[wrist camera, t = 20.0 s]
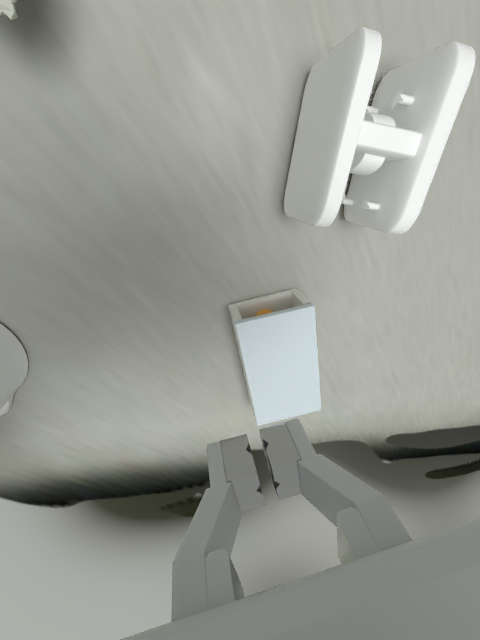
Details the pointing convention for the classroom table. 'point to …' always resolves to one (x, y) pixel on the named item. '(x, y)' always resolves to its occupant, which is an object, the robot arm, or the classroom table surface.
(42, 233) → the classroom table surface
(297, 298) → the duct
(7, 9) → the skeletal model
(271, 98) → the classroom table surface
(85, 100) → the classroom table surface
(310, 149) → the cable organizer
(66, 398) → the classroom table surface
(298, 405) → the cover
